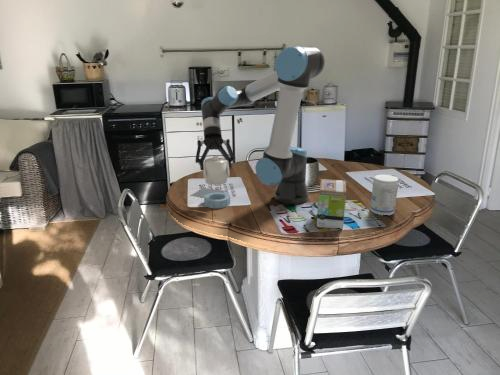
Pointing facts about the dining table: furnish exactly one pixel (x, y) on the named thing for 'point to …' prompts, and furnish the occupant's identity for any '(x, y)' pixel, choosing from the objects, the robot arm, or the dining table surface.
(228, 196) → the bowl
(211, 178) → the cover
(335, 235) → the dining table surface
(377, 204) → the supplement tub
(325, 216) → the tea box
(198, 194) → the mat
